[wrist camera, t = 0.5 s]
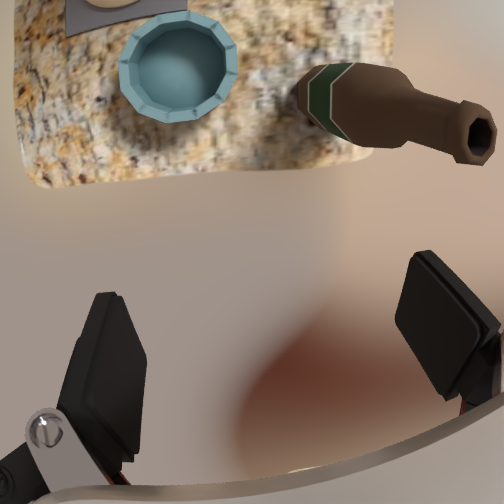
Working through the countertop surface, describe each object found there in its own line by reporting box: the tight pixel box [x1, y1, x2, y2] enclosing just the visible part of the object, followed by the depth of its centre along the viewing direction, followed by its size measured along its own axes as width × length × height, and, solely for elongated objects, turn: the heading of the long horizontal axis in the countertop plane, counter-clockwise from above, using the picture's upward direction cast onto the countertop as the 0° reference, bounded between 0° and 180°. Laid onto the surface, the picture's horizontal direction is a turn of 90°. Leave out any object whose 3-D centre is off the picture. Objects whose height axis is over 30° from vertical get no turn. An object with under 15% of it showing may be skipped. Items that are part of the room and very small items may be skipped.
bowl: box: [118, 10, 238, 123], centre depth 26 cm, size 11×11×6 cm
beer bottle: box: [298, 62, 497, 166], centre depth 22 cm, size 8×8×24 cm
